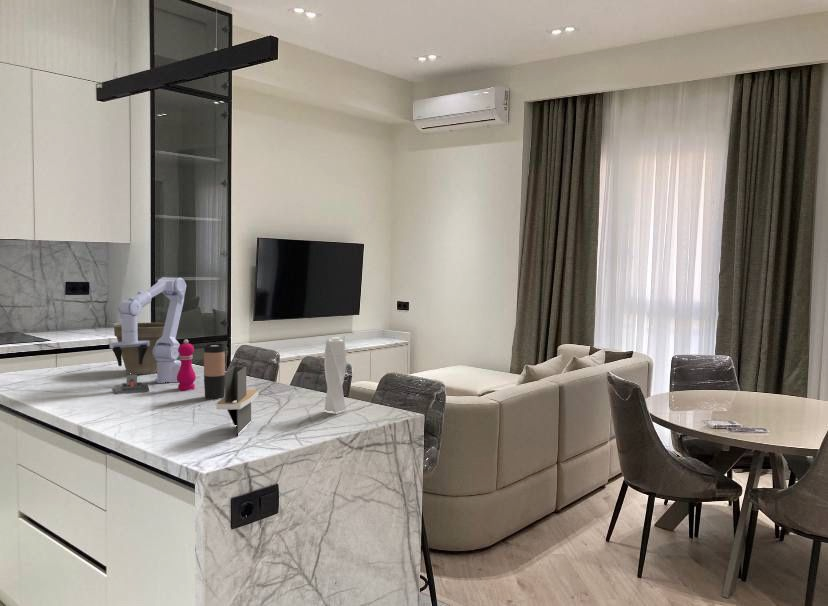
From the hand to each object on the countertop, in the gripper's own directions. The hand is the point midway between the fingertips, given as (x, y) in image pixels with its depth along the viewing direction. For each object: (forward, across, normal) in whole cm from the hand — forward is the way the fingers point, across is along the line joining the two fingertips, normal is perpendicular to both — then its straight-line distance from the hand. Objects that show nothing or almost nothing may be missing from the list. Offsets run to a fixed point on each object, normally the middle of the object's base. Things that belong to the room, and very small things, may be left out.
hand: (130, 365), depth 264 cm
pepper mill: (+10, -19, +10) cm, 23 cm away
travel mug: (+10, -22, +31) cm, 40 cm away
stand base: (+10, 0, 0) cm, 10 cm away
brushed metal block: (+9, 0, +1) cm, 9 cm away
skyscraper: (+10, -47, +77) cm, 91 cm away
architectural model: (+10, -10, +80) cm, 81 cm away
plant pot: (+10, -16, -38) cm, 42 cm away
